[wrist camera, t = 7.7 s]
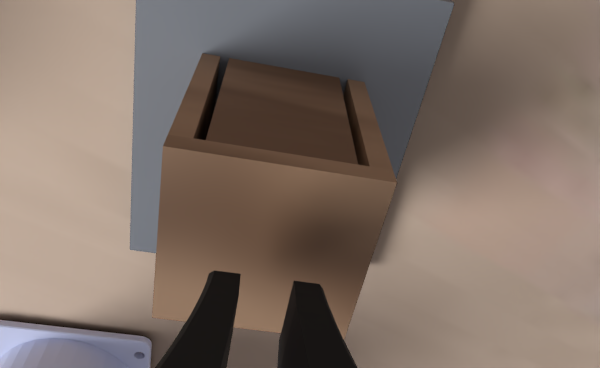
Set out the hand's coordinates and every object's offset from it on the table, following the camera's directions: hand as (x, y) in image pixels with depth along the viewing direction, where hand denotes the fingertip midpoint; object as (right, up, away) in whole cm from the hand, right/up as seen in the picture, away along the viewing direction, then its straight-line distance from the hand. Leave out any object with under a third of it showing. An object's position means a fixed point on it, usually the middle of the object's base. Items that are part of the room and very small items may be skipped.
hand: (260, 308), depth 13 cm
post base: (0, +5, +8) cm, 9 cm away
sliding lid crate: (0, +5, +7) cm, 8 cm away
